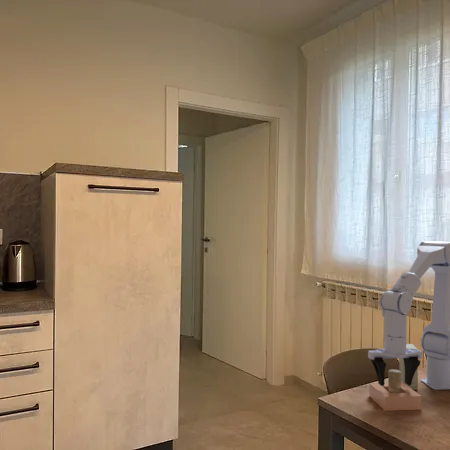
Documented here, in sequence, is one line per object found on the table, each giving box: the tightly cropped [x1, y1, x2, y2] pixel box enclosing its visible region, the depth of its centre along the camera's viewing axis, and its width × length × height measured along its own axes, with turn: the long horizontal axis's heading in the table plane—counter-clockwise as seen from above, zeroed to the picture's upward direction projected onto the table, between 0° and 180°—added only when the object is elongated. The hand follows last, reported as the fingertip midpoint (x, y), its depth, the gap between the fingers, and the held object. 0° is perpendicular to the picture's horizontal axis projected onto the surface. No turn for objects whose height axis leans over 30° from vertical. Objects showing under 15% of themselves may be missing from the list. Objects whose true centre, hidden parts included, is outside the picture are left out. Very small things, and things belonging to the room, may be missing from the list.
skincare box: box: [398, 343, 419, 391], centre depth 136 cm, size 6×4×12 cm
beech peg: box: [387, 369, 401, 393], centre depth 123 cm, size 3×3×8 cm
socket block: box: [369, 382, 423, 412], centre depth 123 cm, size 10×10×4 cm
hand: (394, 384), depth 123 cm, fingers open, 7 cm apart
